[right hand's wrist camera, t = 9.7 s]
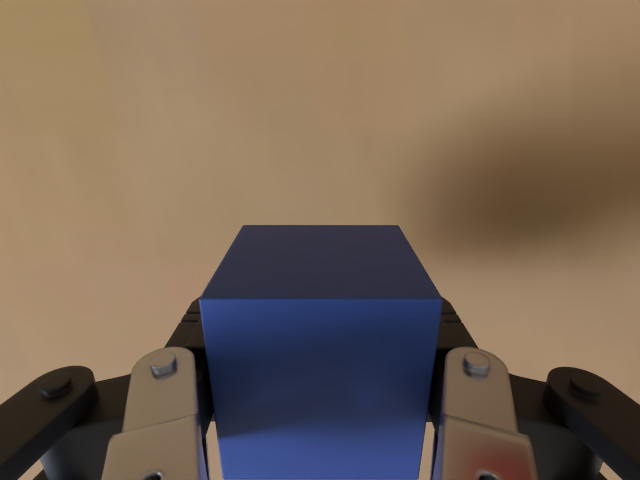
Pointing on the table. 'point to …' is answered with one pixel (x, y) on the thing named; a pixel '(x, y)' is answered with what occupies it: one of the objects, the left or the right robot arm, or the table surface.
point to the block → (320, 353)
